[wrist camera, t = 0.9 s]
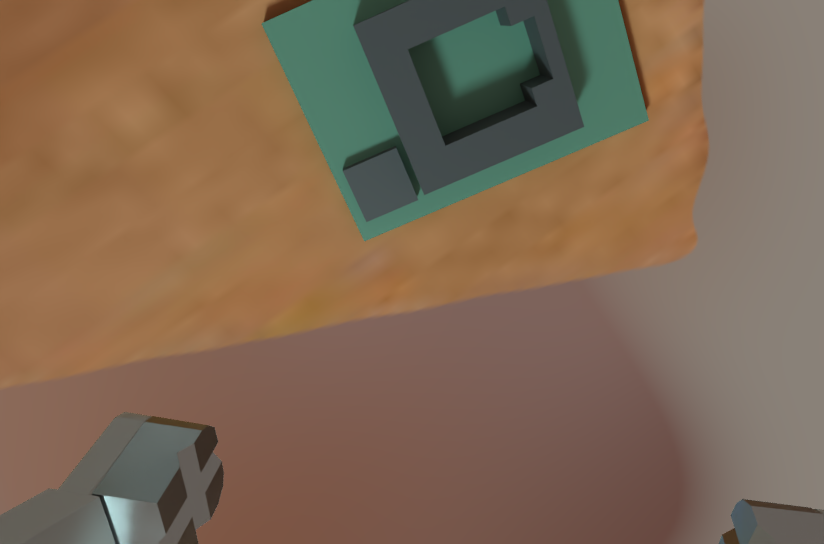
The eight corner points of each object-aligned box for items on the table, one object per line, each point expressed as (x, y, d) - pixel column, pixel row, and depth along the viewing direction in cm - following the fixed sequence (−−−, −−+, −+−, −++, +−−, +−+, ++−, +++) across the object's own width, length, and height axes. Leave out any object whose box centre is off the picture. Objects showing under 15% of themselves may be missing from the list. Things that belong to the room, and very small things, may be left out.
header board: (364, 236, 47) (365, 255, 43) (263, 23, 41) (255, 23, 37) (642, 118, 46) (668, 127, 42) (581, -121, 40) (605, -135, 36)
